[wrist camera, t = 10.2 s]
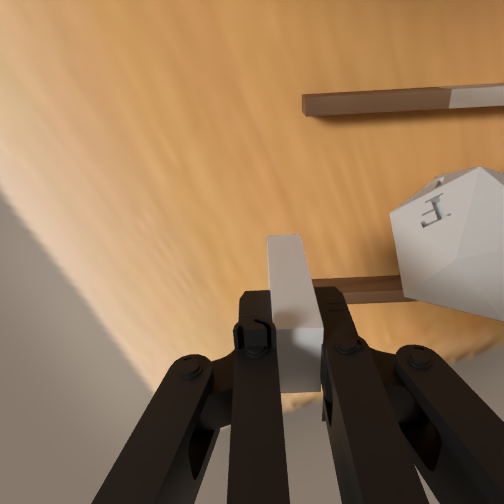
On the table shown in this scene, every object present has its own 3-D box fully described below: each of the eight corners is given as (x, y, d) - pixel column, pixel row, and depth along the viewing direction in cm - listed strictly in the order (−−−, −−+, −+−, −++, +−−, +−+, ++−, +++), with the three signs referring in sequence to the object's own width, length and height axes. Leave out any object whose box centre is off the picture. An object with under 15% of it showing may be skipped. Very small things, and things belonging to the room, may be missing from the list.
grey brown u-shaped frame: (302, 94, 23) (309, 99, 20) (615, 76, 23) (664, 79, 20) (301, 291, 29) (306, 314, 27) (545, 280, 29) (576, 302, 26)
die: (510, 139, 25) (502, 130, 17) (583, 262, 24) (610, 314, 16) (392, 202, 30) (343, 218, 22) (448, 305, 29) (418, 361, 21)
